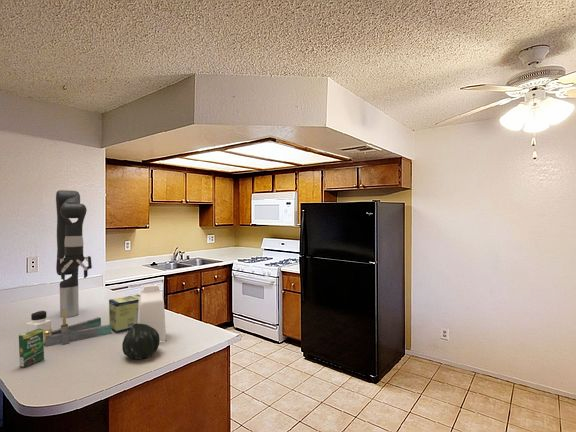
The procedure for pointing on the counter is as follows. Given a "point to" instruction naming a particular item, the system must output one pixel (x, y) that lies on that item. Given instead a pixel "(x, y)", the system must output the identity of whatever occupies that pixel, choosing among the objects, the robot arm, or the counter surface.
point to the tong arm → (81, 326)
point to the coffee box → (31, 347)
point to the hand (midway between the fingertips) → (74, 279)
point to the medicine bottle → (39, 321)
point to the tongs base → (74, 334)
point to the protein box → (123, 313)
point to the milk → (152, 310)
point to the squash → (140, 341)
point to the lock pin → (64, 317)
